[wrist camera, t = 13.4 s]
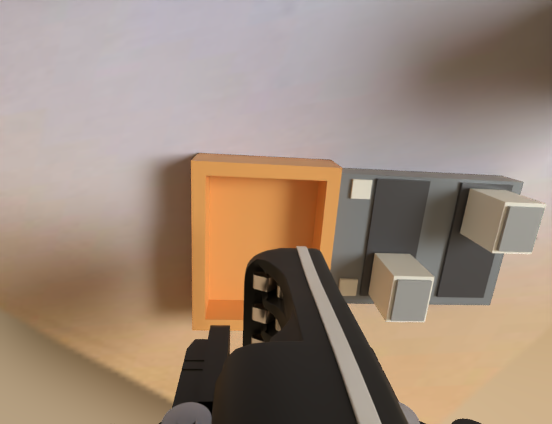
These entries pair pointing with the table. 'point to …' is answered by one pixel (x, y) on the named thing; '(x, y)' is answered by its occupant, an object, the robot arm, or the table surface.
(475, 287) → the panel
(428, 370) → the table surface
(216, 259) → the tray
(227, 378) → the battery charger
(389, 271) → the block
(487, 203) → the breaker
